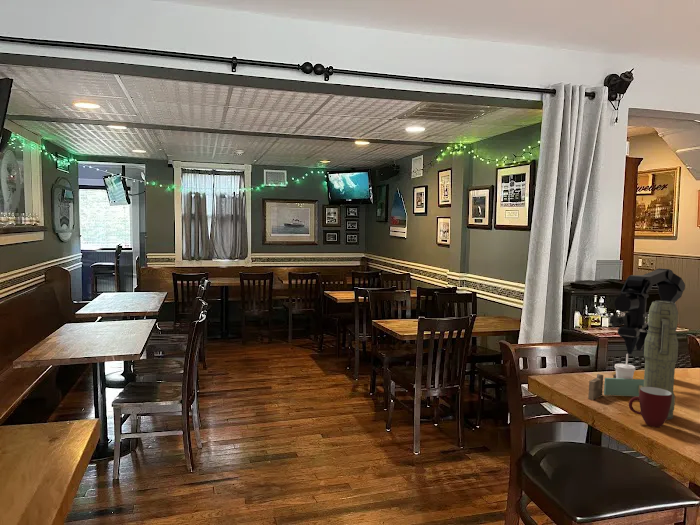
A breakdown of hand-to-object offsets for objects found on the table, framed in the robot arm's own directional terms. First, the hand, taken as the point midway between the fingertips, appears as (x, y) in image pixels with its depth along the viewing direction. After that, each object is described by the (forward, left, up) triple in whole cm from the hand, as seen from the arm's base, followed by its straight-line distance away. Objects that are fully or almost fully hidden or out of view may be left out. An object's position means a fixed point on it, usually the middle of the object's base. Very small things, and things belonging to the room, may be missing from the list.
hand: (634, 352), depth 185 cm
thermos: (+28, +16, -12) cm, 34 cm away
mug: (+39, +17, -12) cm, 44 cm away
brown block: (+18, -3, -12) cm, 22 cm away
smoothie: (+14, +2, -12) cm, 19 cm away
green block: (+18, +3, -12) cm, 21 cm away
